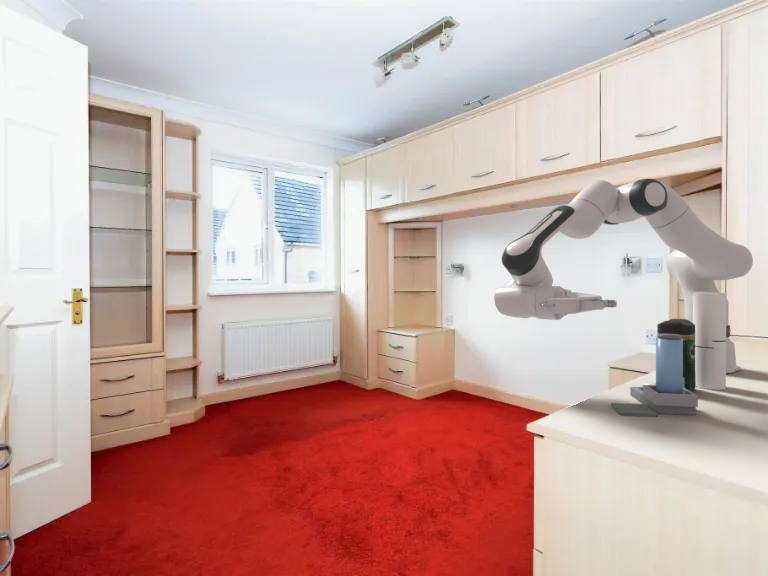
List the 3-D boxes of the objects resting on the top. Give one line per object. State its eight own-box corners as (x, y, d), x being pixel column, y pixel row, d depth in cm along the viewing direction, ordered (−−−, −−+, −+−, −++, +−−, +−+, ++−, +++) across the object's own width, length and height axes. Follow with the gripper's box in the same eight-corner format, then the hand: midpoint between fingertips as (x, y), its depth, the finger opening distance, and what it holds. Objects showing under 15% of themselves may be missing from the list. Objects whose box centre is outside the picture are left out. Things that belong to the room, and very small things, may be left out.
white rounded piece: (640, 394, 109) (640, 382, 109) (658, 394, 108) (658, 382, 108) (646, 398, 105) (646, 386, 105) (665, 399, 104) (665, 386, 104)
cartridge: (652, 397, 100) (652, 333, 100) (676, 398, 99) (676, 333, 99) (661, 403, 96) (661, 336, 95) (686, 404, 95) (687, 336, 94)
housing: (630, 394, 110) (630, 376, 110) (665, 395, 108) (665, 377, 108) (656, 414, 94) (656, 393, 94) (698, 416, 93) (698, 395, 93)
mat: (611, 405, 101) (611, 402, 101) (644, 406, 100) (644, 404, 100) (621, 415, 94) (621, 412, 94) (656, 416, 93) (656, 413, 93)
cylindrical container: (731, 390, 113) (732, 293, 112) (700, 389, 114) (701, 293, 113) (716, 383, 120) (717, 292, 119) (687, 382, 121) (688, 292, 120)
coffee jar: (663, 384, 120) (663, 316, 120) (698, 389, 114) (698, 318, 114) (653, 390, 113) (653, 319, 113) (689, 396, 108) (689, 321, 107)
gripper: (535, 292, 107) (595, 293, 98) (567, 289, 122) (622, 290, 112) (535, 317, 107) (595, 321, 98) (567, 312, 122) (622, 315, 113)
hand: (610, 304), depth 105 cm, fingers open, 8 cm apart
